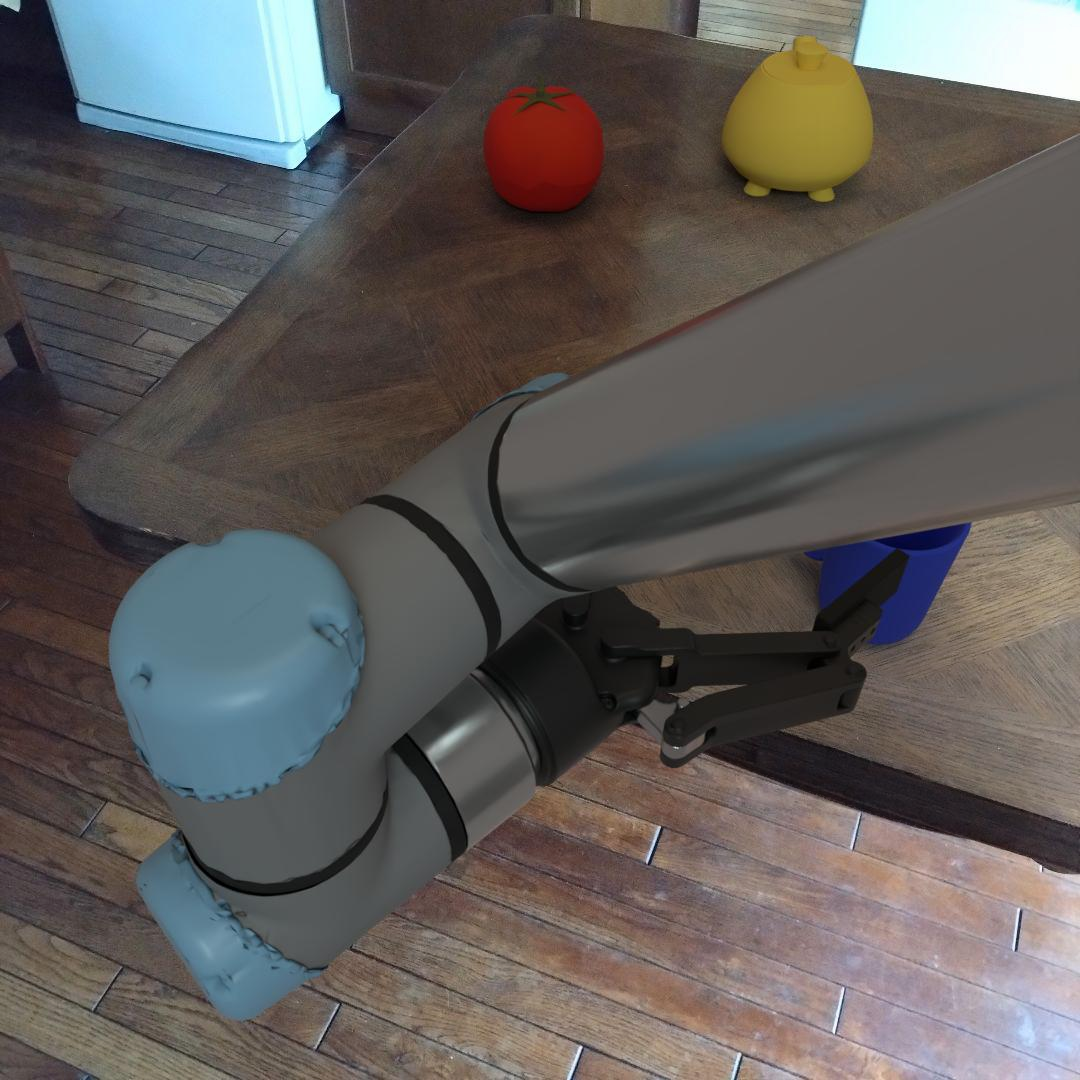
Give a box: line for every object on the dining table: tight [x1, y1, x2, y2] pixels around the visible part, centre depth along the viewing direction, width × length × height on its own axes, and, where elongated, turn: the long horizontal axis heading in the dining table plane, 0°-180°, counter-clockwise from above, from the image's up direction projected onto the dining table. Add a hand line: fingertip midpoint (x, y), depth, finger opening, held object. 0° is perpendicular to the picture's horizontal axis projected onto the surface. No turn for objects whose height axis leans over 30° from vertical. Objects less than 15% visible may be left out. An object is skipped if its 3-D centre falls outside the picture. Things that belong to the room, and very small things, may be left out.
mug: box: [802, 522, 973, 646], centre depth 69 cm, size 8×12×10 cm
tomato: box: [482, 74, 605, 213], centre depth 107 cm, size 12×13×12 cm
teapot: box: [720, 35, 874, 203], centre depth 111 cm, size 20×16×14 cm
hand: (790, 500), depth 57 cm, fingers open, 13 cm apart
